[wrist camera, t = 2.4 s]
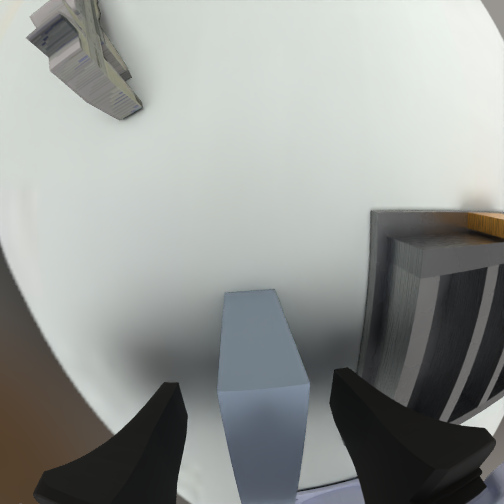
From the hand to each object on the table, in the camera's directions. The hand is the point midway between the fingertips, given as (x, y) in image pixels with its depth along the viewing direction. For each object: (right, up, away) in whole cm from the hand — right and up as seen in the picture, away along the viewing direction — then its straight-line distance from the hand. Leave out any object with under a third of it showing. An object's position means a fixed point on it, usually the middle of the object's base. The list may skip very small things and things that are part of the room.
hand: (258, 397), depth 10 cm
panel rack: (+12, +1, +2) cm, 13 cm away
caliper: (-9, +21, -3) cm, 23 cm away
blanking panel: (0, 0, +2) cm, 2 cm away
